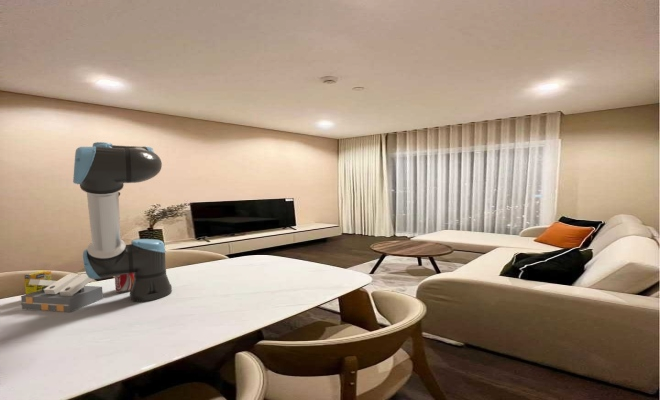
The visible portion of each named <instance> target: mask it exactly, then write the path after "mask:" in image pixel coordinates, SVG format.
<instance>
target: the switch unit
mask: <svg viewBox="0 0 660 400" xmlns="http://www.w3.org/2000/svg"><path fill="white" fill-rule="evenodd" d="M47 287H48V286H44V287H42V290H39V291H36V292H33V293H29V294H26V293H25V294H23V295H20V296H21V297H20V299H21V309H22V310H30V311H31V310H32V311H47V312H58V313H59V312H61V313H72V312H74V311H77V310H79V309H82V308H84V307H86V306H88V305H91V304H93V303H96V302H98V301H101V300H103V299H104V296H103V295H104V294H103V293H104V291H103V286H95V285H94V286H92V285H85V286H84V287H83V288H81V289H80V290H79V291H78V292H76V293H75V294H74V295H73V296H61V294H60V293H57V294H45V292H44V290H43V289H45V288H47Z"/></svg>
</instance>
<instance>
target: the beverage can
mask: <svg viewBox="0 0 660 400" xmlns="http://www.w3.org/2000/svg"><path fill="white" fill-rule="evenodd" d="M133 281H134V273H130V274H124V275H118V276H114V285H115V287H114V288H115V291H116V292H118V293H122V294H123V293H130V291H131V288H132V284H133Z"/></svg>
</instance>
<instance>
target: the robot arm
mask: <svg viewBox="0 0 660 400" xmlns="http://www.w3.org/2000/svg"><path fill="white" fill-rule="evenodd" d="M162 163H163V162H162V160H161V158H160V156H159V155H158V154H157V153H155V152H154V149H153V148H152V147H151V146H136V145H135V146H134V145H133V146H132V145H131V146H129V145H113V143H110V142H102V141H101V142H93V143H92V146H79V147H77V148H76V149H75V152H74V165H73V179H72V180H73V181H72V182H73V184H75V185H76V184H77V185H79V187H80V189H81V191H83V192H84V193H86V198H87V207H88V215H89V216H88V217H89V226H90V227H89V228H90V235H91V236H90V237H91V243H90V244H89V245H88V246H87V248H86V249H84V250H83V252H82V254H83V255H82V262H83V264H84V265H83V266H84V270H85V274H87V276H88V277H89V278H91V279H93V280H97V279H98V280H99V279H106V278H111V277H115V276H118V275H124V274H130V273H134V281H133V284H132V288H131V291H129V299H130V301H133V302H147V301H148V302H149V301H153V300H157V299H162V298H164V297H167V296H169V295H170V294H171V293H172V292H173V288H172V283H170V280H169V278H168V275H167V264H166V263H167V261H166V252H167V251H166V247H165V243H164V241H162V240H160V239H154V238H153V239H152V238H151V239H150V238H139V239H133V240H132V241H131V243H130V244H126V242H125V241H124V240H123V239H122V237H121V220H120V219H121V217H120V195H121V192H120V191H121V190H123V189H124V185H125V184H132V183H133V184H135V183H141V182H145V181H148V180H151V179H153V178H155V177H157V175H158V174H160V172H161V170H162V166H163V164H162Z"/></svg>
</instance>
